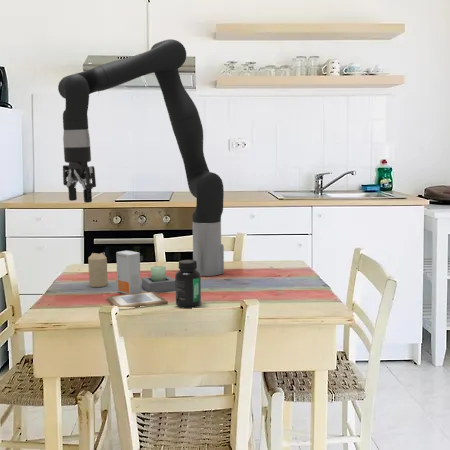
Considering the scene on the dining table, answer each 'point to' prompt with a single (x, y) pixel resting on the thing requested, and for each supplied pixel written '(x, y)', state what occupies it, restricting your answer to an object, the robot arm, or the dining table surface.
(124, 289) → the skincare box
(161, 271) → the button
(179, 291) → the supplement bottle
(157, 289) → the button housing
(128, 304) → the board
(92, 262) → the candle
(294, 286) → the dining table surface
